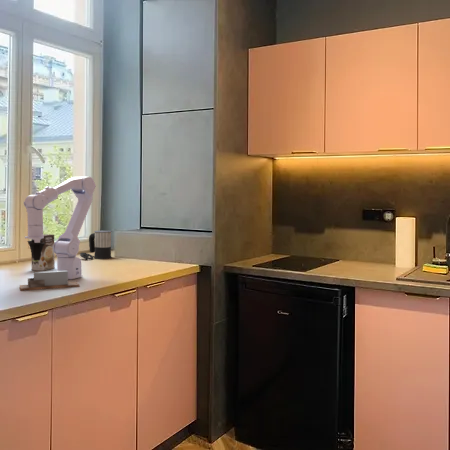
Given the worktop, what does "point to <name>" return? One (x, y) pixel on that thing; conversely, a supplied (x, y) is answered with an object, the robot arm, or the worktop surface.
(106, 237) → the milk frother
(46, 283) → the rail
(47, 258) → the coffee box
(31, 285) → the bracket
